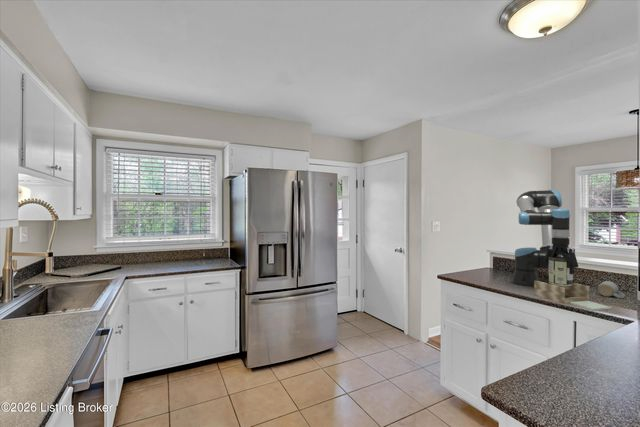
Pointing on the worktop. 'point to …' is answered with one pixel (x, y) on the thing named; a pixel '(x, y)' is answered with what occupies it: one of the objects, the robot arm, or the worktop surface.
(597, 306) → the trivet
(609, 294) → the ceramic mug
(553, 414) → the worktop surface
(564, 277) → the coffee can
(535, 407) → the worktop surface
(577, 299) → the access box
